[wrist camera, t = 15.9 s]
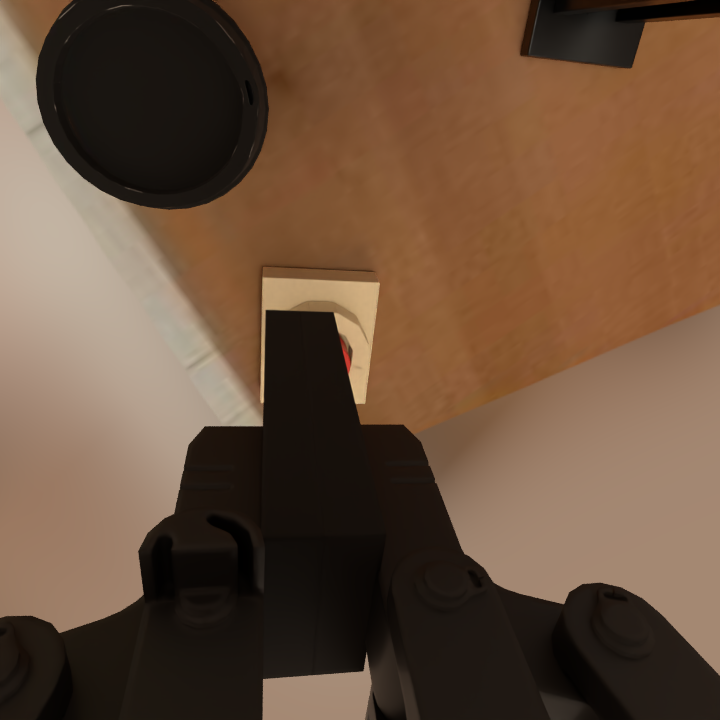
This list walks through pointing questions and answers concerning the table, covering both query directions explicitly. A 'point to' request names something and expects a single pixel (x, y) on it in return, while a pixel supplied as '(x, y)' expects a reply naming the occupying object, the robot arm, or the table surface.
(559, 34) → the lever bracket
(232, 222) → the table surface
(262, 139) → the coffee cup
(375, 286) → the button housing
